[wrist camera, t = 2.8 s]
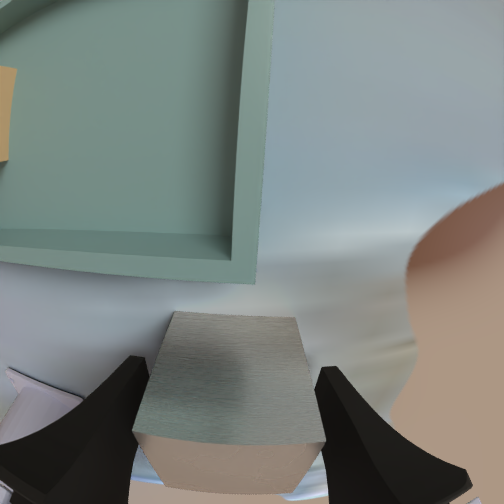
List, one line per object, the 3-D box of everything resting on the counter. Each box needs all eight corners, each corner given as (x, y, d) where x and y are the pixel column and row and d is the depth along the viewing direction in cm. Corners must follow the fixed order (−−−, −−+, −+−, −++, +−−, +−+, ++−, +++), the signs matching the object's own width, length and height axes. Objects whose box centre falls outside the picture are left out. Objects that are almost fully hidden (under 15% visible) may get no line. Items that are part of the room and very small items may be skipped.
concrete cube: (280, 391, 12) (292, 492, 7) (184, 387, 12) (165, 486, 7) (295, 316, 10) (326, 440, 5) (175, 310, 10) (131, 430, 5)
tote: (252, 248, 9) (254, 284, 7) (-24, 235, 8) (-54, 252, 6) (272, -38, 5) (278, -76, 3) (-14, 44, 4) (-43, 39, 2)
